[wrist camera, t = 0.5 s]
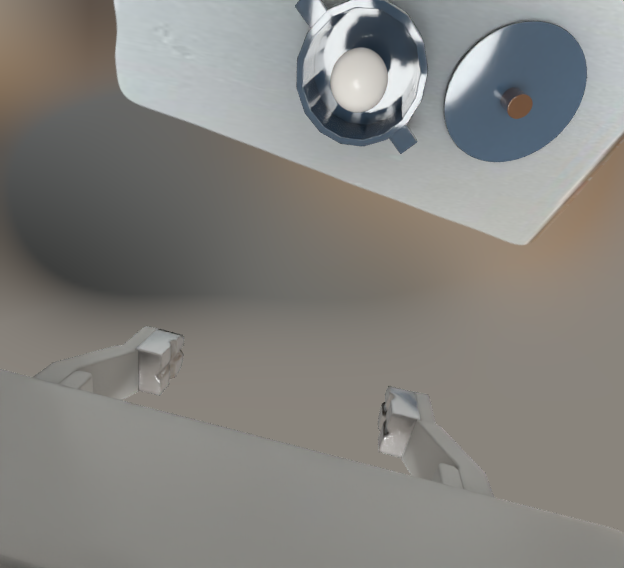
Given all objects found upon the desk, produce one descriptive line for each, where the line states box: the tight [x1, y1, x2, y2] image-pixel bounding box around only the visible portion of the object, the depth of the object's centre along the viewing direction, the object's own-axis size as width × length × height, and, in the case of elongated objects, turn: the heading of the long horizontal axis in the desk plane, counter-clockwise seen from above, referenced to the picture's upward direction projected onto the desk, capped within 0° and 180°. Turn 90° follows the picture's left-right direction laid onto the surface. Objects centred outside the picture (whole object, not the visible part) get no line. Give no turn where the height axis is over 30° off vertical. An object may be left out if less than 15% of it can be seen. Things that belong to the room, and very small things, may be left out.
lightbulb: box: [330, 47, 388, 113], centre depth 43 cm, size 6×6×11 cm
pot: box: [295, 0, 428, 154], centre depth 45 cm, size 15×20×7 cm
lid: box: [444, 21, 587, 162], centre depth 44 cm, size 16×16×5 cm
